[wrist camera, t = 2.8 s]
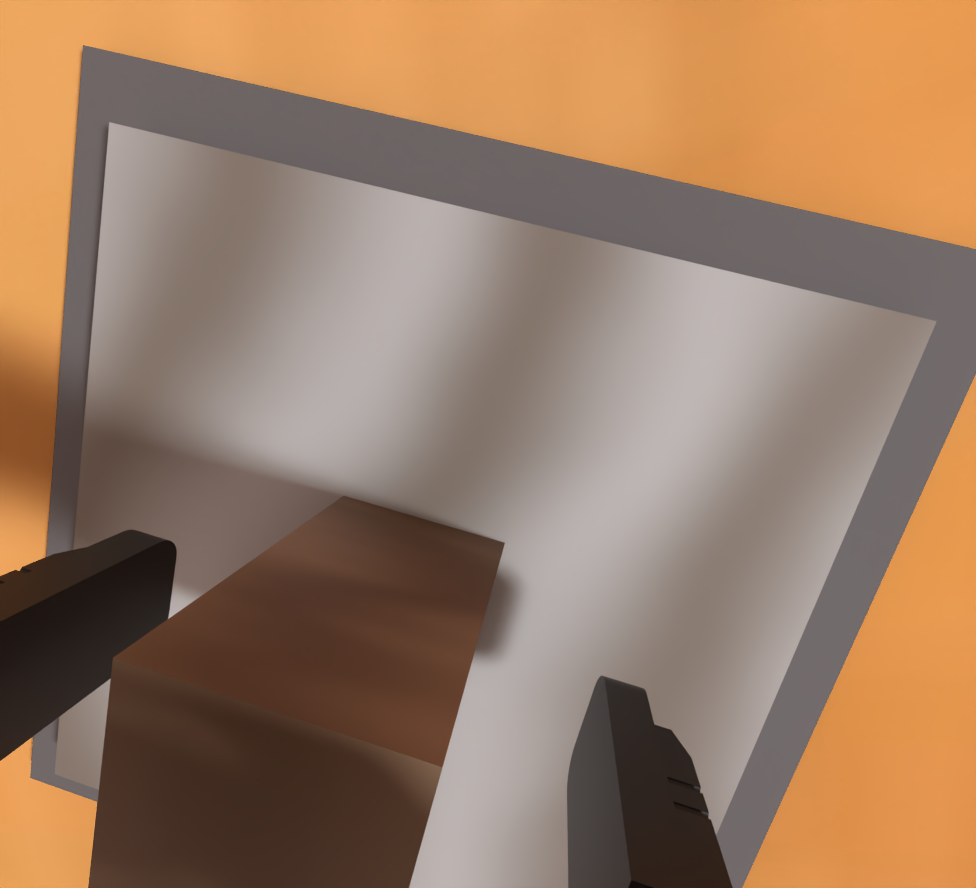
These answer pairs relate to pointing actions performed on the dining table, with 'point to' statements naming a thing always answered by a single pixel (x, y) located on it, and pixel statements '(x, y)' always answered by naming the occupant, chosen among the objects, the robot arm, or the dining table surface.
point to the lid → (436, 517)
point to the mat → (586, 212)
